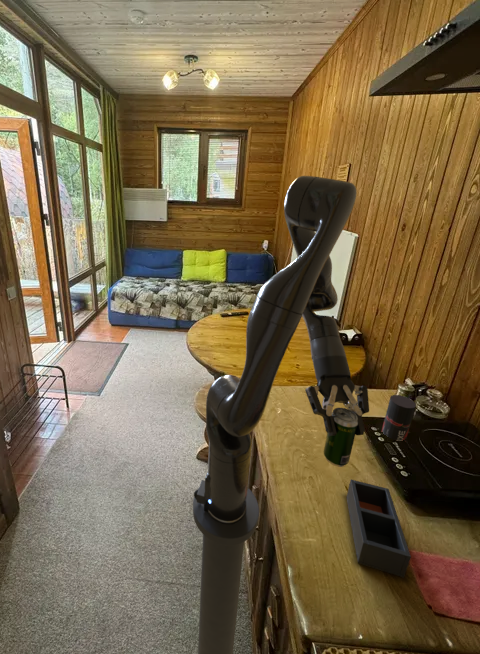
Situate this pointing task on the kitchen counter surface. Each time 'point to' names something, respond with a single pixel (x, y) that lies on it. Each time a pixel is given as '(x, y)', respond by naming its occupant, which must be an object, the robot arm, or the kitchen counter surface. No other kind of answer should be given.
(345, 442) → the beer can
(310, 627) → the kitchen counter surface
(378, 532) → the box
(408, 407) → the deodorant
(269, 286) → the robot arm
